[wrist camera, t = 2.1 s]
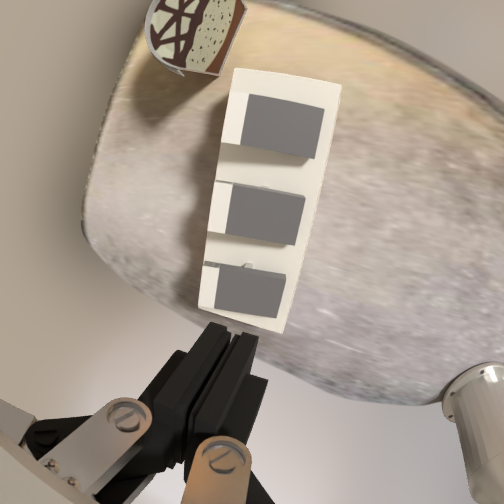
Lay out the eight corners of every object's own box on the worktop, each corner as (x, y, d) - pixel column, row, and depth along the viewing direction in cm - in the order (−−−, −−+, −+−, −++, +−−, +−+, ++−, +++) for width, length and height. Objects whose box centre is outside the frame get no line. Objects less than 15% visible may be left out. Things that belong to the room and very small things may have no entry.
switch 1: (322, 109, 26) (324, 108, 24) (312, 157, 27) (314, 159, 26) (231, 92, 25) (230, 90, 24) (222, 141, 27) (220, 141, 26)
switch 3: (285, 274, 32) (286, 279, 30) (275, 311, 33) (276, 318, 32) (204, 260, 31) (202, 265, 30) (199, 299, 33) (197, 305, 32)
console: (341, 94, 30) (341, 82, 24) (290, 307, 40) (280, 340, 33) (249, 78, 32) (227, 64, 25) (214, 285, 42) (191, 312, 35)
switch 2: (304, 195, 29) (305, 198, 27) (293, 241, 30) (294, 246, 29) (216, 179, 28) (214, 181, 27) (209, 226, 30) (207, 230, 29)
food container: (206, -9, 29) (168, -42, 20) (252, -1, 28) (223, -39, 19) (171, 76, 34) (122, 62, 25) (215, 88, 33) (173, 73, 24)
